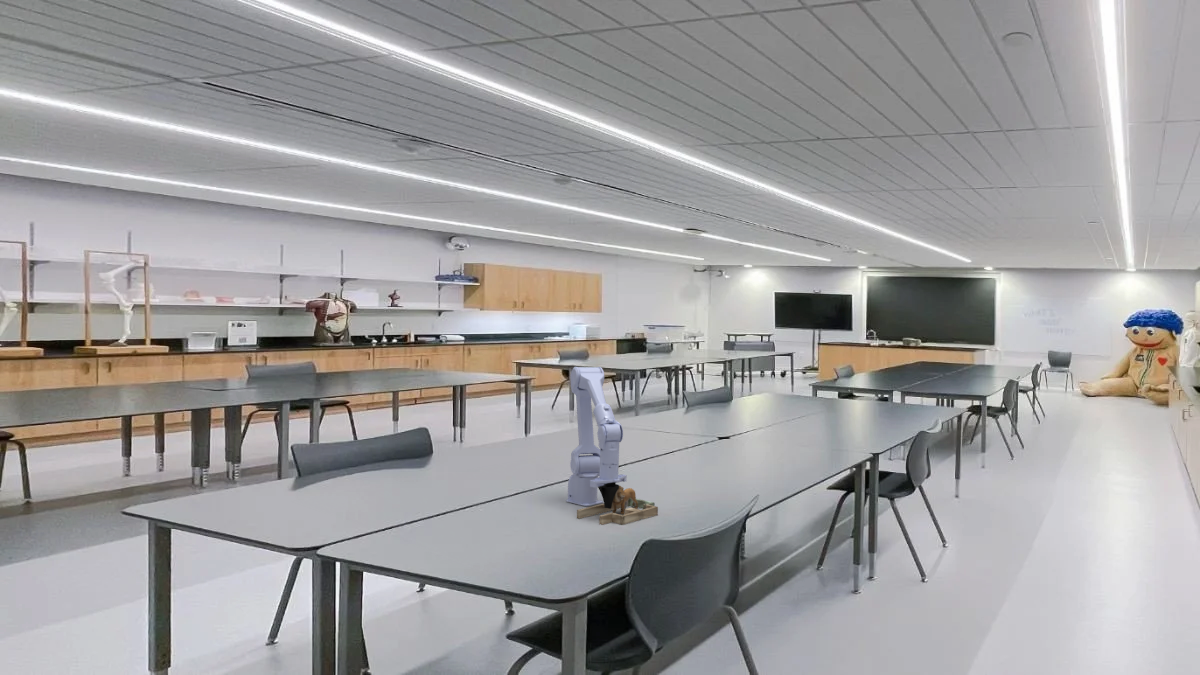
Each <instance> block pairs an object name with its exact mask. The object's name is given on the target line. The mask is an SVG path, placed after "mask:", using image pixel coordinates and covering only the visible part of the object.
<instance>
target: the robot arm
mask: <svg viewBox="0 0 1200 675" xmlns="http://www.w3.org/2000/svg"><path fill="white" fill-rule="evenodd" d="M569 379H570V389H571V393H572V394H574V395H575V400H576V417H577V432H578V445H577V447H575V448H574V449H573V450H572V451H571V455H570V461H569V464H570V465H569V466H570V472H571V473H572V474H571V475H570V476H569V478H568V482H567V499H565V502H567V503H571V504H575V505H579V506H582V507H591V506H595V505H599V504H604V507H605V508H608V509H611V507H612V503H613V499H614V496H615V494H616V492H617V490H618V489H619V486H620V484H617V483H620V482H624V483H625V482H627V478H628V477H627V475H626V474H624V473H623V474H619V468H620V467H619V465H620V463H619V462H620V443H621V442H622V440H623V439H624V438H623V437H624V429H623V426H622V424H621V423H620V422H619V421H618V420H616V418H615V415H614V412H613V409H612V407H611V405H610V404H608V403H607V402H606V397H605V393H604V388H603V386H604V383H605V382H604V381H605V371H604V369H603V368H602V367H601V366H595V367H594V366H588V367H586V366H574V367H573V368H572V369H571V372H570V378H569ZM592 403H593V404H592ZM592 405H594V408H593V407H592ZM592 408H593V409H592ZM593 415H594V418H595V422H596V424H597V433H596V434H597V440H598V447H597V445H595V438H594V436H595V435H594V422H593ZM598 490H599V492H600V494H601V497H602V499H603V500H600V499H598Z"/></svg>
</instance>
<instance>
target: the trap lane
mask: <svg viewBox="0 0 1200 675" xmlns="http://www.w3.org/2000/svg"><path fill="white" fill-rule="evenodd" d="M636 501H637V502H638V507H639V508H638V509H635V508H634V507H635V503H634V505H632V504H633V501H632V499H631V498H629V500H628V505H627V506H628V507H627V508H626V509H624V514H618V513H617V512H616V513H612V511H614V506H613V503H612V507H611V509H608V508H605V507H604V503H600V504H595V505H591V506H586V507H584V508H579V509H577V510H576V519H579V520H580V519H584V517H585V518H588V517H593V516H596V515H599V516H598V517H599V522H598V523H599V525H600V524H601V526H603V525H607V524H610V523H614V524H618V525H621V526H624V525H626V524H630V523H634V522H639V521H641V519H642V520H645V519H649V518H652V517H654V516H655V515H656V516H658V514H659V507H658V506H655V503H656V502H653V501H649V500H643V499H640V498H636ZM624 506H625V505H624ZM633 506H634V507H633ZM616 508H617V510H618V509H619V508H620V509H621V504H620V505H617V506H616ZM641 508H643V509H641ZM620 509H619V510H620ZM611 510H612V511H611ZM607 511H608V512H609V513H608V512H607ZM610 511H611V512H610ZM603 512H604V513H605V514H603ZM599 513H600V514H599ZM595 514H596V515H595ZM601 514H602V515H601ZM651 516H652V517H651ZM656 516H655V517H656ZM648 517H649V518H648Z"/></svg>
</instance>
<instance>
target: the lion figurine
mask: <svg viewBox="0 0 1200 675" xmlns="http://www.w3.org/2000/svg"><path fill="white" fill-rule="evenodd" d="M629 498H631V499H632V501H633V504H632V505H634V503H635V507H633V508H635V509H639V508H638V502H637V501H636V499H637V496H636V490H634V488H631V487H629V488H626V489H624V486H621V485H619V489H618V490H617V492H616V494H615V496H614V499H613V506H614V510H612V511H611V513H616V514H617V510H618V509H617V508H616V506H617V505H620V504H621V508H620V515H625V509H627V508H628V507H627V505H628V500H629ZM624 505H625V506H624Z"/></svg>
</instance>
